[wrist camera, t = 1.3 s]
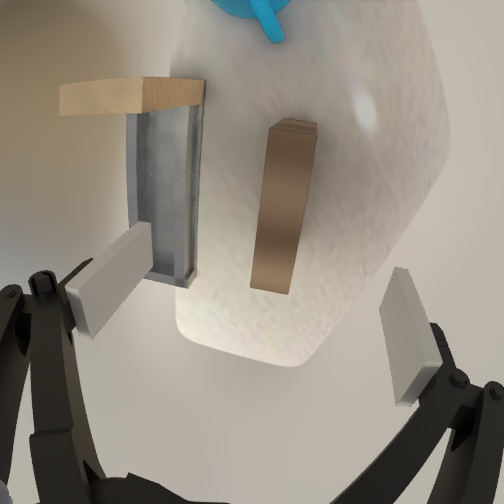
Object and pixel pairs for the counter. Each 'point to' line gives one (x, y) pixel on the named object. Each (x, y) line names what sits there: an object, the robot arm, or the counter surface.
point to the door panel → (282, 203)
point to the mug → (258, 14)
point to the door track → (155, 160)
